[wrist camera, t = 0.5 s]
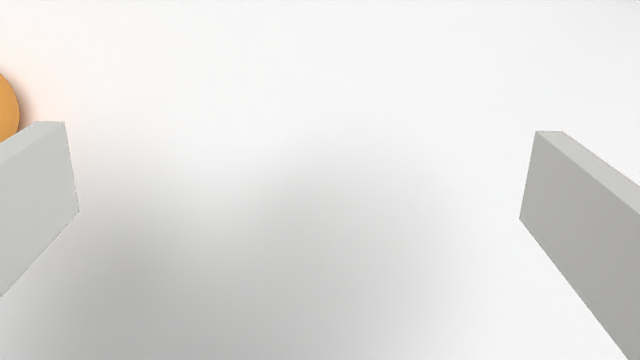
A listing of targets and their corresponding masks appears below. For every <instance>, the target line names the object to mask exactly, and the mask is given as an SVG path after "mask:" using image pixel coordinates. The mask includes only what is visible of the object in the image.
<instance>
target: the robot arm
mask: <svg viewBox="0 0 640 360" xmlns="http://www.w3.org/2000/svg"><path fill="white" fill-rule="evenodd" d="M78 212H79V206H78V200H77V194H76V188H75V183H74V177H73V171H72V165H71V159H70V153H69V147H68V141H67V135H66V129H65V124H64V122H50V121H36V122H34V123H32V124H31V125H29V126H27V127H26V128H24V129H23V130H21V131H19V132H18V133H16V134H14V135H13V136H11V137H9V138H8V139H6V140H4V141H3V142H1V143H0V298H1V297H2V296H3V295H4V294H5V293H6V291H7V290H8V289H9V288H10V287H11V286H12V285H13V284H14V283H15V282H16V281H17V279H18V278H19V277H20V276H21V275H22V274H23V273H24V272H25V271H26V270H27V268H28V267H29V266H30V265H31V264H32V263H33V262H34V261H35V260H36V259H37V257H38V256H39V255H40V254H41V253H42V252H43V251H44V250H45V249H46V248H47V246H48V245H49V244H50V243H51V242H52V241H53V240H54V239H55V238H56V237H57V235H58V234H59V233H60V232H61V231H62V230H63V229H64V228H65V227H66V226H67V224H68V223H69V222H70V221H71V220H72V219H73V218H74V217H75V216H76V215H77V213H78ZM519 219H520V220H521V222H522V223H523V224H524V226H525V227H526V228H527V229H528V231H529V232H530V233H531V235H532V236H533V237H534V238H535V240H536V241H537V242H538V244H539V245H540V246H541V247H542V249H543V250H544V251H545V253H546V254H547V255H548V257H549V258H550V259H551V260H552V262H553V263H554V264H555V266H556V267H557V268H558V269H559V271H560V272H561V273H562V275H563V276H564V277H565V279H566V280H567V281H568V282H569V284H570V285H571V286H572V288H573V289H574V290H575V291H576V293H577V294H578V295H579V297H580V298H581V299H582V301H583V302H584V303H585V304H586V306H587V307H588V308H589V310H590V311H591V312H592V313H593V315H594V316H595V317H596V319H597V320H598V321H599V323H600V324H601V325H602V326H603V328H604V329H605V330H606V332H607V333H608V334H609V335H610V337H611V338H612V339H613V341H614V342H615V343H616V344H617V346H618V347H619V348H620V350H621V351H622V352H623V354H624V355H625V356H626V357H627V359H628V360H640V186H638V185H637V184H635V183H634V182H633V181H631V180H630V179H628V178H627V177H626V176H624V175H623V174H621V173H620V172H619V171H617V170H616V169H614V168H613V167H612V166H610V165H609V164H607V163H606V162H605V161H603V160H602V159H601V158H599V157H598V156H596V155H595V154H594V153H592V152H591V151H589V150H588V149H587V148H585V147H584V146H582V145H581V144H580V143H578V142H577V141H575V140H574V139H573V138H571V137H570V136H568V135H567V134H566V133H564V132H563V131H536V132H535V138H534V143H533V148H532V153H531V159H530V164H529V169H528V175H527V180H526V185H525V190H524V196H523V201H522V206H521V212H520V217H519Z"/></svg>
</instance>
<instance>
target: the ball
mask: <svg viewBox="0 0 640 360" xmlns="http://www.w3.org/2000/svg"><path fill="white" fill-rule="evenodd" d="M19 117H20V114H19V105H18V101H17V98H16V95H15V93H14V91H13V89H12V87H11V86H10V84H9V83H8V81H7V80H6V79H5V78H4V77H3V76H2V74H0V143H1V142H3V141H4V140H6V139H8V138H9V137H11V136H13V135H14V134H16V131H17V128H18V124H19Z"/></svg>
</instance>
